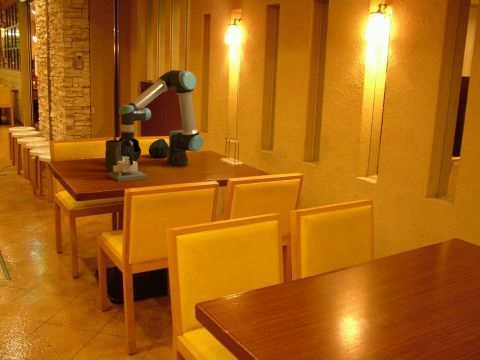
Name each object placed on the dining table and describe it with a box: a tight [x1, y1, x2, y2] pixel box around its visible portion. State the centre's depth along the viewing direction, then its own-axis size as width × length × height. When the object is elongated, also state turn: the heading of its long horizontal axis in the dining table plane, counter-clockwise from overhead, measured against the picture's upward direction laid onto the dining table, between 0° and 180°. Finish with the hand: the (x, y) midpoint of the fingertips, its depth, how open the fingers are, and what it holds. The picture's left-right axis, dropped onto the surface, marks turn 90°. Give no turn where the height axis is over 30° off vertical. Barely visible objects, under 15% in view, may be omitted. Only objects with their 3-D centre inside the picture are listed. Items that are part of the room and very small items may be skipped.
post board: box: [108, 157, 148, 182], centre depth 299 cm, size 18×16×12 cm
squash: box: [148, 138, 169, 159], centre depth 365 cm, size 14×15×15 cm
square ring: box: [113, 161, 139, 172], centre depth 298 cm, size 13×9×5 cm
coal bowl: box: [118, 137, 142, 162], centre depth 334 cm, size 20×20×19 cm
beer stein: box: [104, 139, 123, 174], centre depth 314 cm, size 15×11×20 cm
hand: (127, 168), depth 299 cm, fingers closed on square ring, 9 cm apart
